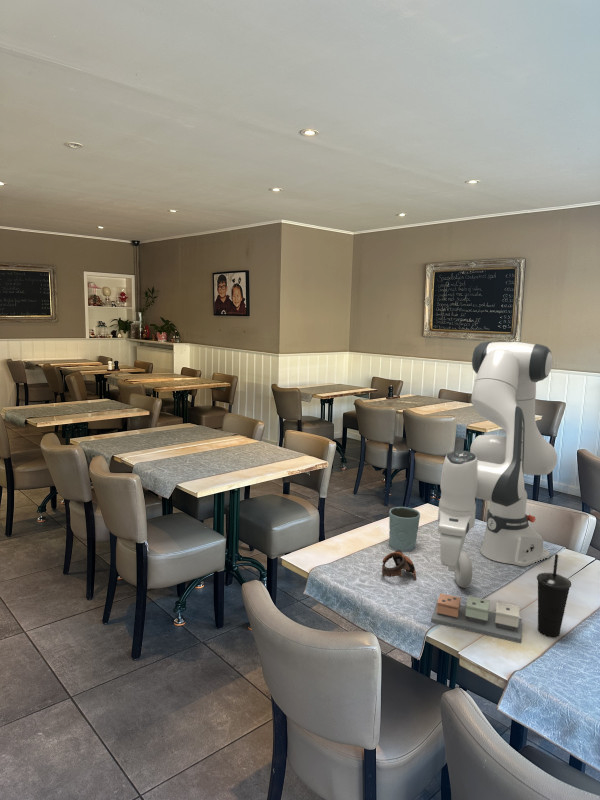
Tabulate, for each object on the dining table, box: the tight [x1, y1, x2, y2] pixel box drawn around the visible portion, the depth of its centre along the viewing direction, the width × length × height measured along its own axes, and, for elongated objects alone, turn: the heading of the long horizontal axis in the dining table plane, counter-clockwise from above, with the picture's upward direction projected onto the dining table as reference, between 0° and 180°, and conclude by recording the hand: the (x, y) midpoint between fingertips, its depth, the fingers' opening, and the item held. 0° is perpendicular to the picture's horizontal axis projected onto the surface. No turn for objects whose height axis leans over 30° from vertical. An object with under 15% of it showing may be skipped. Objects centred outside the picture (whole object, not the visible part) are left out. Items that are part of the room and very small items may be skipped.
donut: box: [454, 550, 473, 589], centre depth 158 cm, size 10×4×10 cm, turn 178°
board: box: [430, 599, 523, 644], centre depth 139 cm, size 21×10×2 cm, turn 68°
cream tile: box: [495, 601, 520, 628], centre depth 136 cm, size 5×5×3 cm
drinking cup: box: [536, 553, 572, 639], centre depth 135 cm, size 8×8×20 cm
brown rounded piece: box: [381, 550, 417, 581], centre depth 163 cm, size 12×10×8 cm
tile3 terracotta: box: [436, 592, 462, 617], centre depth 142 cm, size 5×5×3 cm
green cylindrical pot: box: [388, 506, 421, 553], centre depth 184 cm, size 10×10×12 cm
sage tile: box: [465, 595, 491, 621], centre depth 139 cm, size 5×5×3 cm
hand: (452, 569), depth 140 cm, fingers closed
